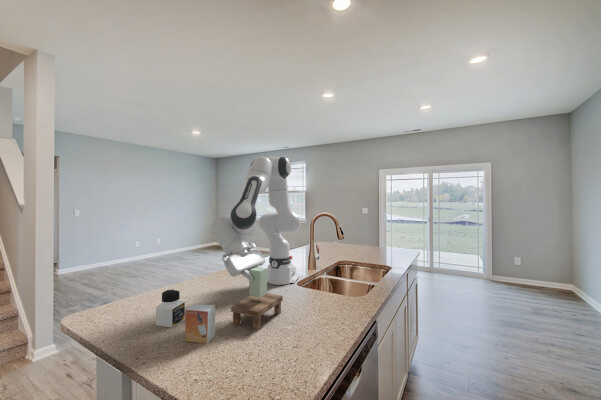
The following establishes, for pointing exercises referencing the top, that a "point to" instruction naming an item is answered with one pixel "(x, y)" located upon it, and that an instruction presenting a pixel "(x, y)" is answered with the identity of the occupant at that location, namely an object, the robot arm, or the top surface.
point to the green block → (258, 282)
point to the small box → (200, 323)
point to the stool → (256, 308)
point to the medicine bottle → (170, 309)
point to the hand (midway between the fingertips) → (257, 278)
